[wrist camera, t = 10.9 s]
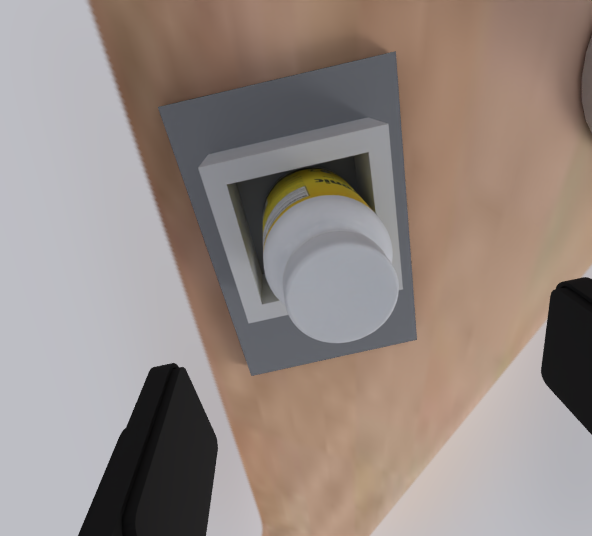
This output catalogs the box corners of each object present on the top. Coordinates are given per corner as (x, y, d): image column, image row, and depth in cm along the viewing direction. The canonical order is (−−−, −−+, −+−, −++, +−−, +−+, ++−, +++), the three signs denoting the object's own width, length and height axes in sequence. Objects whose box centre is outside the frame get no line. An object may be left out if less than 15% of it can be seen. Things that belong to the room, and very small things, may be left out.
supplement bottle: (374, 211, 22) (449, 298, 13) (306, 270, 23) (333, 384, 14) (312, 141, 20) (353, 188, 11) (242, 211, 21) (228, 301, 12)
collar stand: (389, 52, 19) (423, 44, 15) (411, 331, 27) (437, 374, 23) (162, 105, 19) (136, 112, 15) (251, 366, 27) (250, 415, 23)
